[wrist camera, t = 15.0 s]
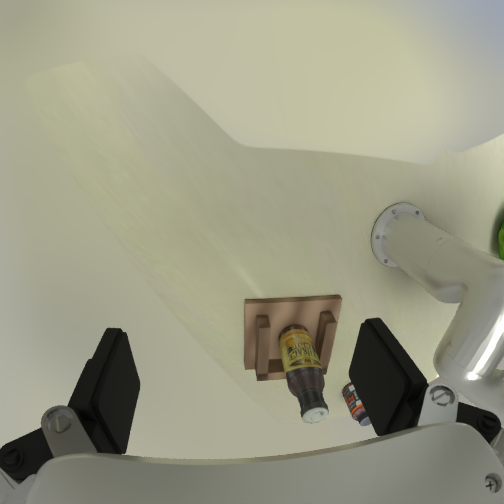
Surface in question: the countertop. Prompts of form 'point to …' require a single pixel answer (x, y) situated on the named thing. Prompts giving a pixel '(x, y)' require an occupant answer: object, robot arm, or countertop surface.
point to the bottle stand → (281, 317)
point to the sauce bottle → (303, 372)
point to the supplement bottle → (355, 405)
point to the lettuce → (501, 242)
